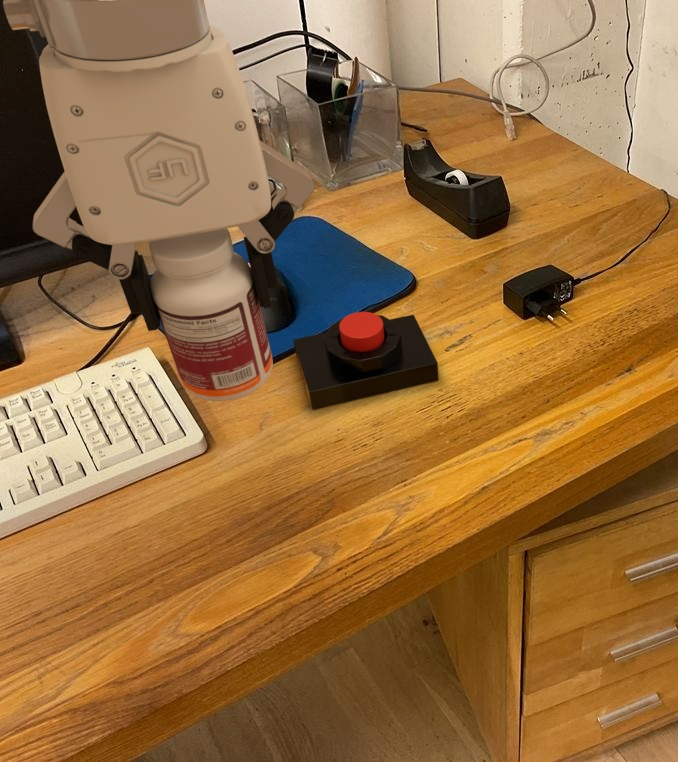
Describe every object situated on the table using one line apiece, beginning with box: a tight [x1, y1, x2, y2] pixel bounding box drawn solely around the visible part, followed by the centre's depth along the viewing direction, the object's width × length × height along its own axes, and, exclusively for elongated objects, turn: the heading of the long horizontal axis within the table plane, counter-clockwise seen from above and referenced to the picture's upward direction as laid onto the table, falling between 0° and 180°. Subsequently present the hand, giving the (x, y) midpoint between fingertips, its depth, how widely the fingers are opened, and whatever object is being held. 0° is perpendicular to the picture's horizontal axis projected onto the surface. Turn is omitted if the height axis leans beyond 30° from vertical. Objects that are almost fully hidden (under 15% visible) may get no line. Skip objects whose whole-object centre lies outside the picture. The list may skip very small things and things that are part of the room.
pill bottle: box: [149, 228, 274, 402], centre depth 52 cm, size 6×6×11 cm
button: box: [339, 311, 384, 352], centre depth 75 cm, size 4×4×2 cm
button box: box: [292, 314, 439, 411], centre depth 77 cm, size 12×8×4 cm, turn 111°
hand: (209, 304), depth 52 cm, fingers closed on pill bottle, 6 cm apart
